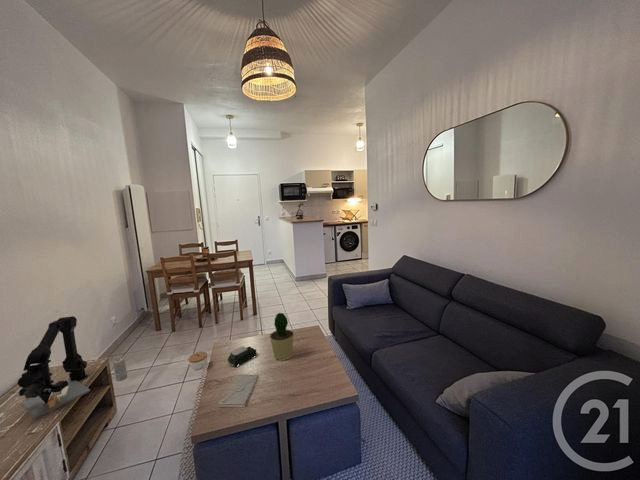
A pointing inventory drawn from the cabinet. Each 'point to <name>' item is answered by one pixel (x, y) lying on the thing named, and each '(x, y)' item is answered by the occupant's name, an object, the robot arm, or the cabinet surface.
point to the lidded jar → (198, 360)
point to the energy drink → (120, 369)
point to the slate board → (40, 409)
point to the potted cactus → (281, 338)
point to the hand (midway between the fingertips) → (46, 402)
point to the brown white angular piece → (54, 397)
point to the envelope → (240, 390)
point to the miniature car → (241, 355)
